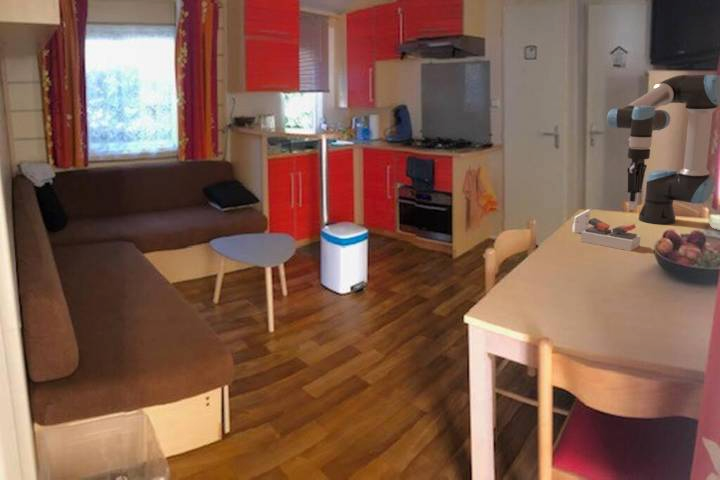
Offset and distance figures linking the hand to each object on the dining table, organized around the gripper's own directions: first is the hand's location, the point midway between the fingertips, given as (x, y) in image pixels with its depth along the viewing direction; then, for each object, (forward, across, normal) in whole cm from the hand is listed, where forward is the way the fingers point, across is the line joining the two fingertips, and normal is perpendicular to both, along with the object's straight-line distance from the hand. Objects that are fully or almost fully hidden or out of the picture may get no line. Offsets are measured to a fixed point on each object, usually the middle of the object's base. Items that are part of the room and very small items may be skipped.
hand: (632, 209), depth 233 cm
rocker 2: (+10, 0, -2) cm, 10 cm away
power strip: (+15, 0, -8) cm, 17 cm away
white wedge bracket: (+16, -10, -24) cm, 31 cm away
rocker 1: (+10, 0, -13) cm, 16 cm away
